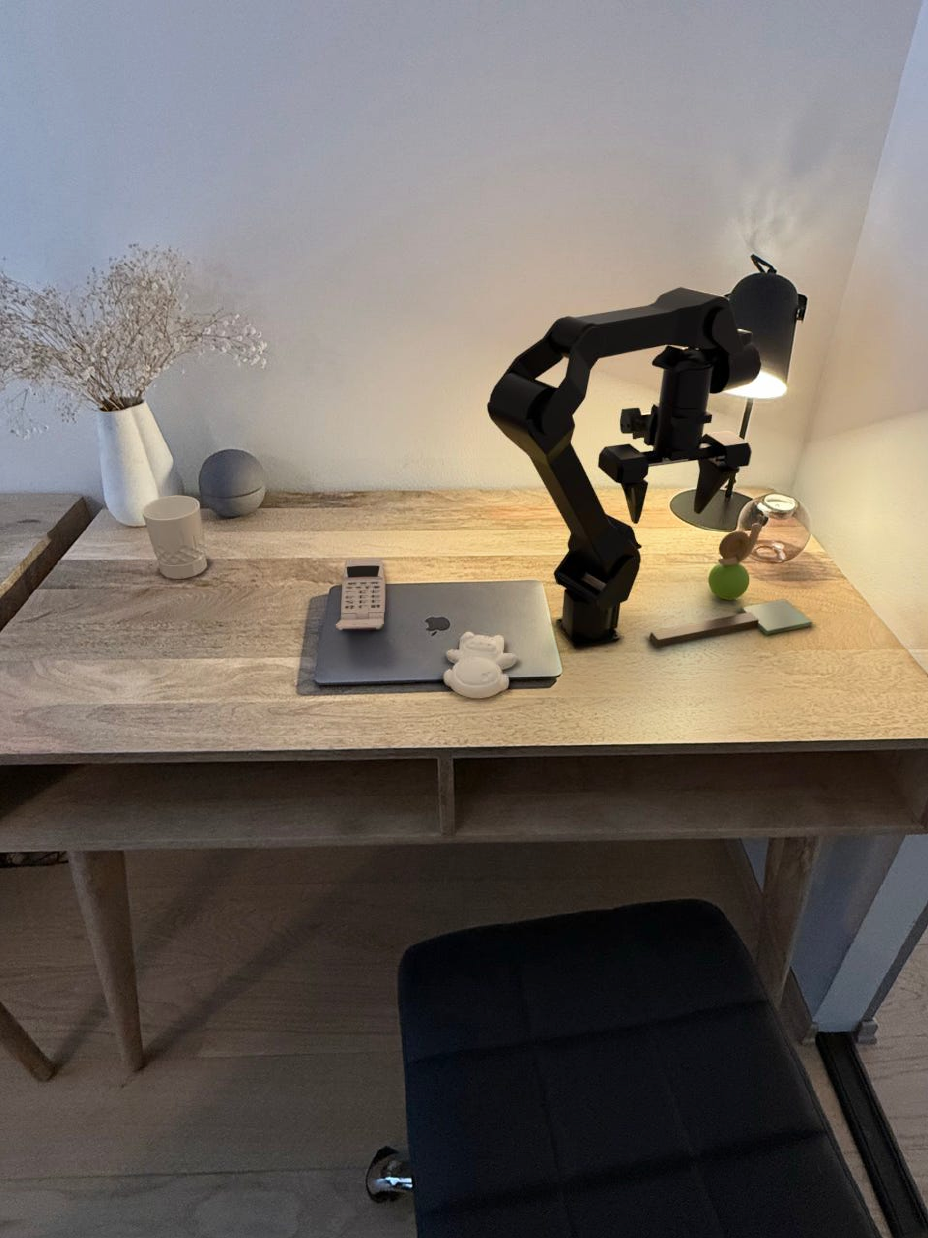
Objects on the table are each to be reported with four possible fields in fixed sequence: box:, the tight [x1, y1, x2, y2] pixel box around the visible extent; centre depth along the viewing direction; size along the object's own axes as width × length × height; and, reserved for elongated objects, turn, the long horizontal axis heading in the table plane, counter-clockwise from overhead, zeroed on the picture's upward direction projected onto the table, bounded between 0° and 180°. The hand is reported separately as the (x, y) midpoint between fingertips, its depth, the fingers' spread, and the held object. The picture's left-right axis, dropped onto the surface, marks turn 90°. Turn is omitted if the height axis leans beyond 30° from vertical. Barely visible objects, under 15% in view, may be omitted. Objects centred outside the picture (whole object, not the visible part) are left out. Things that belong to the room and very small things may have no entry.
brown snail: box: [707, 513, 766, 600], centre depth 113 cm, size 5×6×12 cm
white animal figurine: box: [442, 631, 518, 699], centre depth 101 cm, size 9×12×3 cm
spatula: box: [649, 598, 813, 648], centre depth 109 cm, size 22×6×1 cm, turn 108°
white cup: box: [141, 495, 208, 580], centre depth 120 cm, size 8×8×10 cm
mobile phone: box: [335, 557, 386, 631], centre depth 111 cm, size 6×6×25 cm
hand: (666, 517), depth 108 cm, fingers open, 9 cm apart
